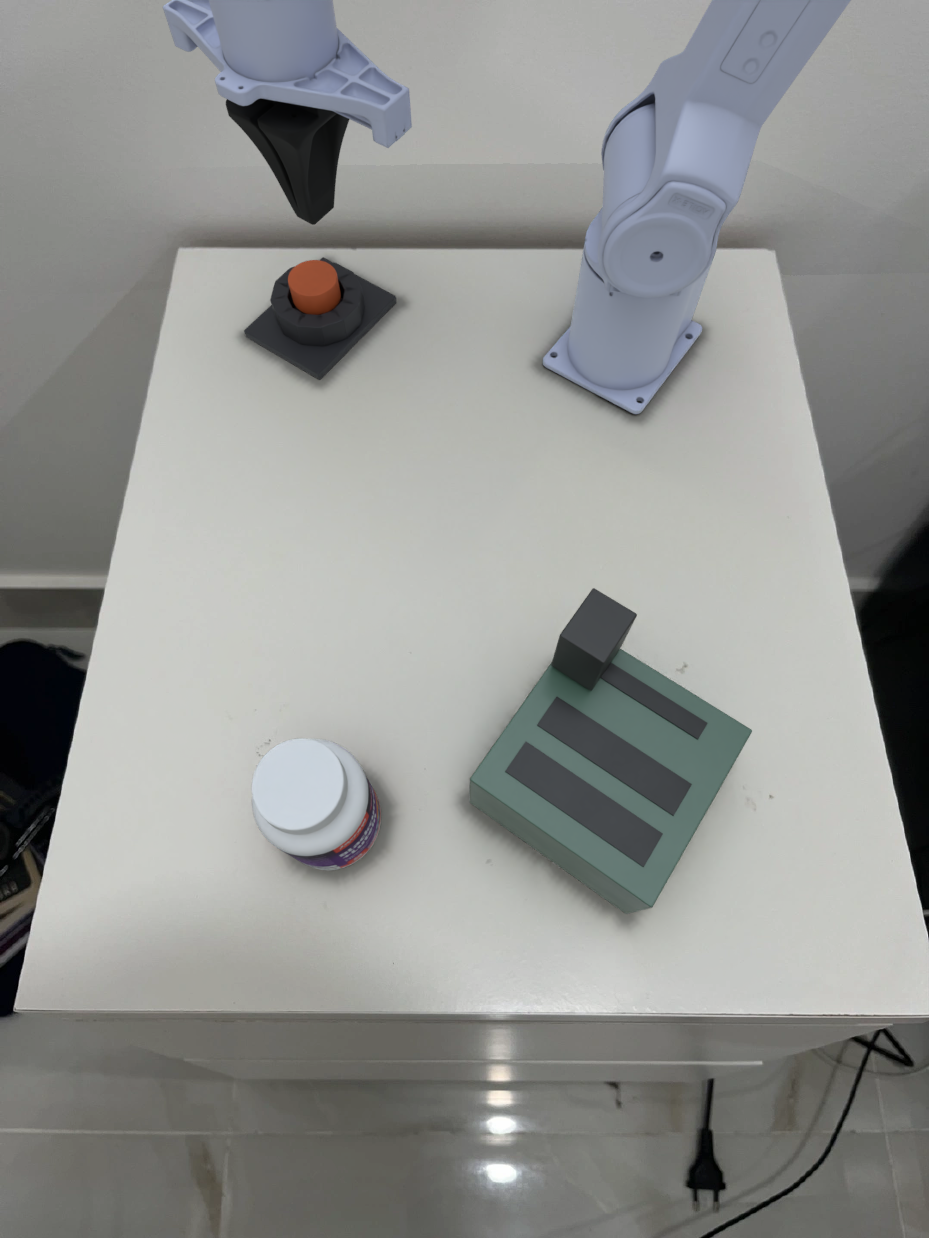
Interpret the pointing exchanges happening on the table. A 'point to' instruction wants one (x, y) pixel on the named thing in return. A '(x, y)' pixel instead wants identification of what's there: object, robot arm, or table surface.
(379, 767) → the table surface
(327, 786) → the pill bottle
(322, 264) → the button
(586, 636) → the toaster slider
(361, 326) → the control pad
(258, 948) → the table surface
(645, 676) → the toaster
